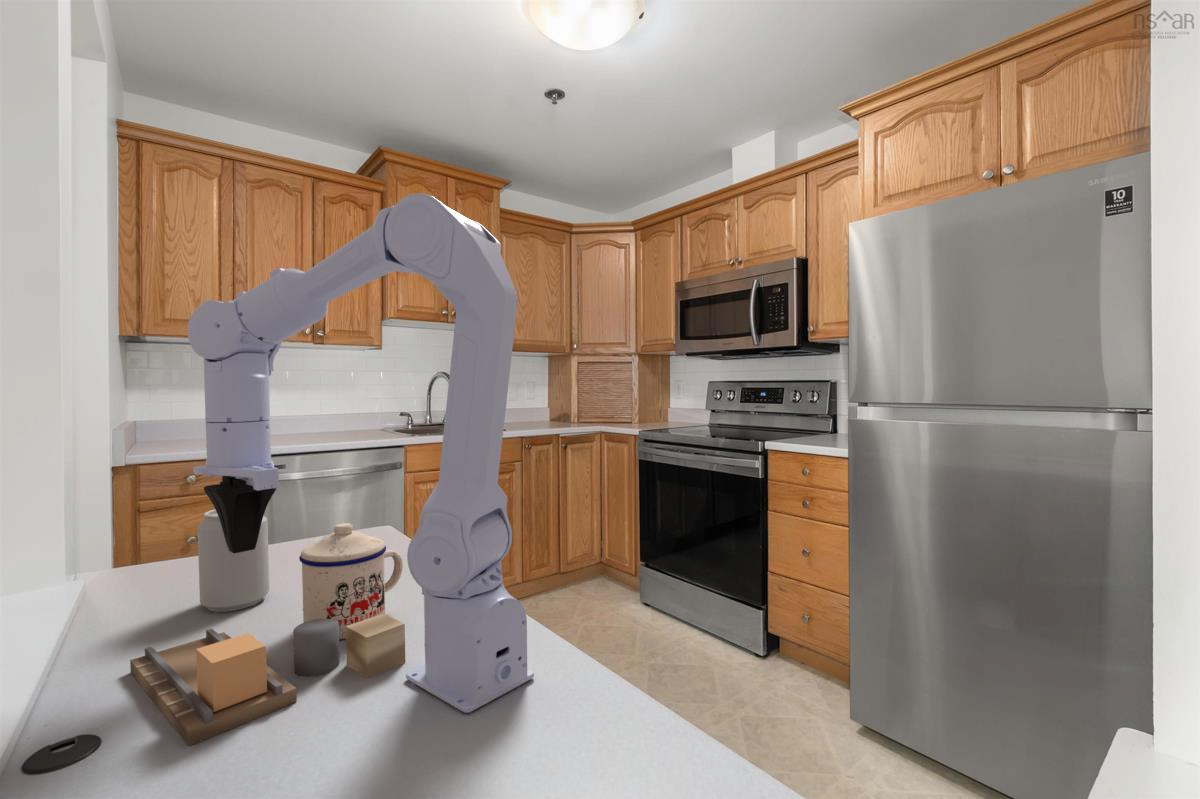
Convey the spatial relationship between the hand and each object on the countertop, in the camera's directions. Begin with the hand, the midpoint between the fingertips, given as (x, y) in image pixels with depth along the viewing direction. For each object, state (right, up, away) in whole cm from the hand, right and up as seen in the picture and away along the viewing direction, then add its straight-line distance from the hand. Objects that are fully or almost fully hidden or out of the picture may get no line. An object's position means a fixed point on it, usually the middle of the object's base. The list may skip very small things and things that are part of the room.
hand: (242, 550), depth 61 cm
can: (-9, -10, +13) cm, 19 cm away
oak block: (+15, -11, -3) cm, 19 cm away
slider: (+6, -9, -11) cm, 16 cm away
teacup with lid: (+9, -10, +7) cm, 15 cm away
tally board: (+1, -11, -7) cm, 13 cm away
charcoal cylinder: (+10, -11, -4) cm, 15 cm away
